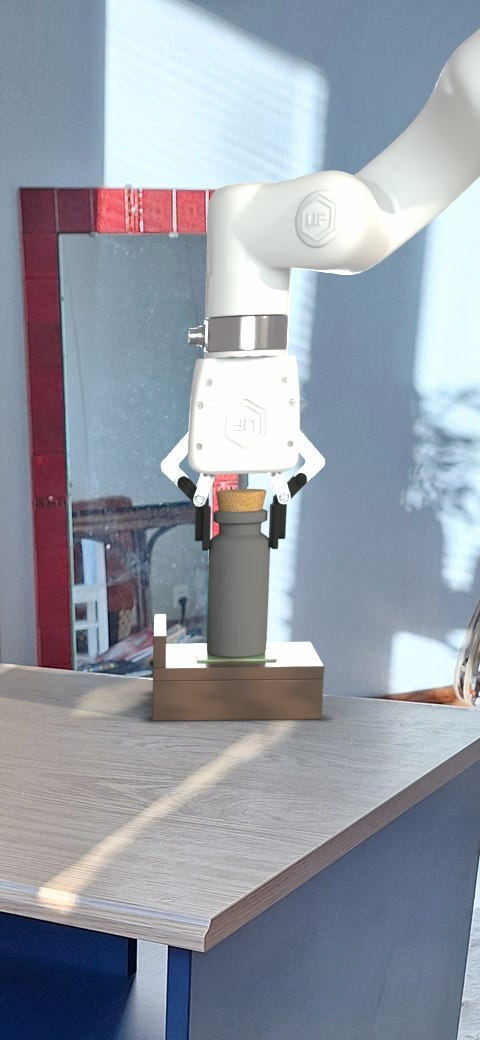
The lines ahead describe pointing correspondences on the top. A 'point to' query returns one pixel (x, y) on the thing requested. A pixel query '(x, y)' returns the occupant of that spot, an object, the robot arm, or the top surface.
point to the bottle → (238, 576)
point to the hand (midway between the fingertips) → (239, 546)
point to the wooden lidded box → (234, 682)
